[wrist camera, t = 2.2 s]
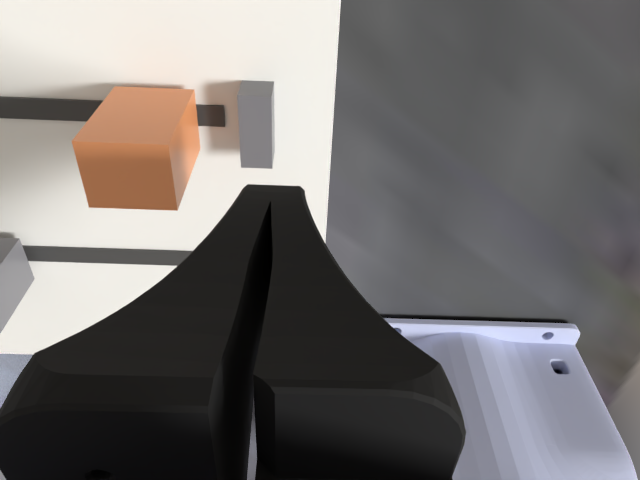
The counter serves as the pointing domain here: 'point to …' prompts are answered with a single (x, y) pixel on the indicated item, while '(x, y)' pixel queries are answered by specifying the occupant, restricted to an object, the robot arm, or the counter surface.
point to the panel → (213, 123)
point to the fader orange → (139, 148)
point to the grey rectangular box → (12, 277)
